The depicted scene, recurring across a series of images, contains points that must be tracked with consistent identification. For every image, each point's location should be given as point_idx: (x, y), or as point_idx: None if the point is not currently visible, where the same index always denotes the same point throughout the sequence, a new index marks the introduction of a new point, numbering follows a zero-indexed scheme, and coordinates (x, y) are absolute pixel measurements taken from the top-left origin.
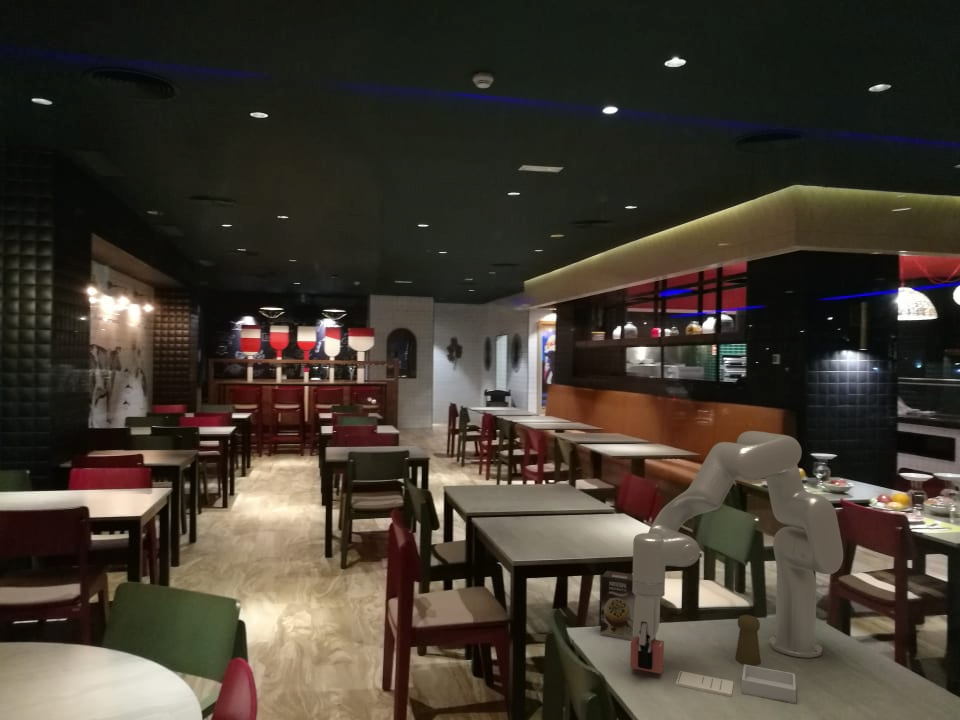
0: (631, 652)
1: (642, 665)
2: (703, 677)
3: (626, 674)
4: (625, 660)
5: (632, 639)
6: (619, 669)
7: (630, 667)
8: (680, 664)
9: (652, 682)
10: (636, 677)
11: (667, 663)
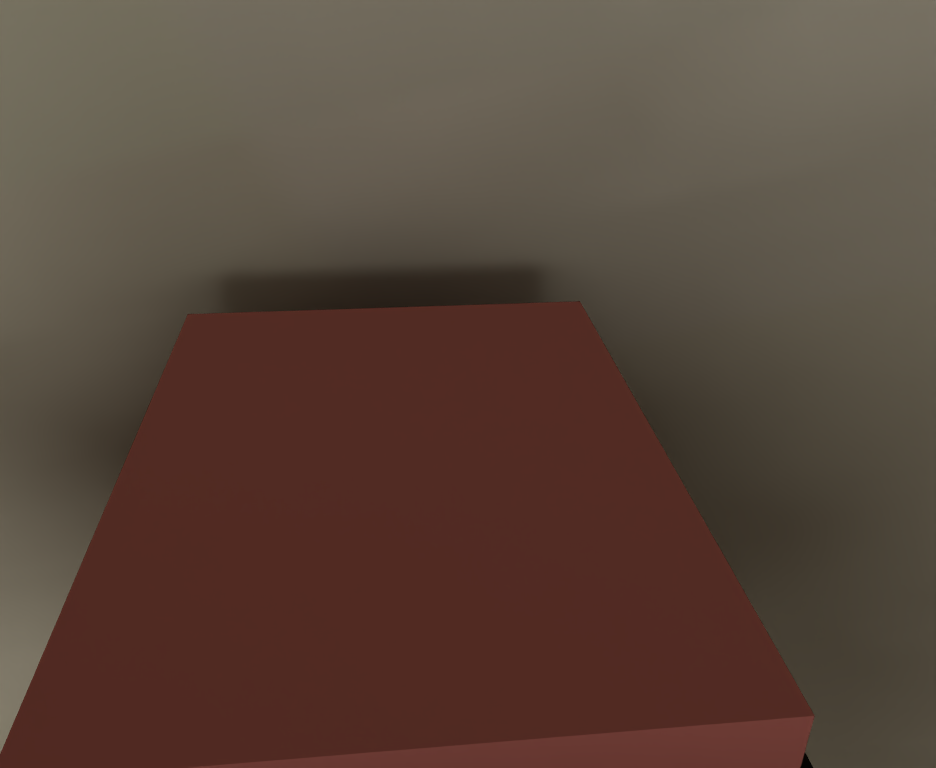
0: (110, 530)
1: None
2: None
3: (146, 209)
4: (792, 47)
5: (375, 750)
6: (297, 23)
7: (185, 320)
8: (865, 753)
9: None
10: (135, 390)
11: (855, 639)
